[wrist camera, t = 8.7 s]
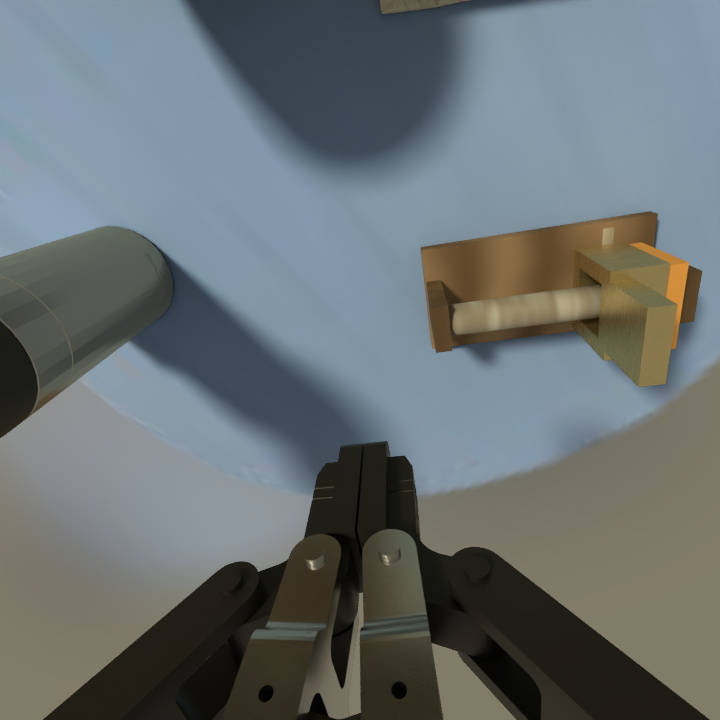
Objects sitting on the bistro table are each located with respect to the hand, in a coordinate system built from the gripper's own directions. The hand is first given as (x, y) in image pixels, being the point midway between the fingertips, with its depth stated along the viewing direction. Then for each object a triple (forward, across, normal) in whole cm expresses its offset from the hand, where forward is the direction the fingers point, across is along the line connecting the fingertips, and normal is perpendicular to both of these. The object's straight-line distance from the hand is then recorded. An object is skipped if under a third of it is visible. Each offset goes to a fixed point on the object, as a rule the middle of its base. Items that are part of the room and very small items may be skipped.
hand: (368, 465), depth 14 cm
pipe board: (+26, -12, +4) cm, 29 cm away
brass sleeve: (+24, -17, +4) cm, 29 cm away
